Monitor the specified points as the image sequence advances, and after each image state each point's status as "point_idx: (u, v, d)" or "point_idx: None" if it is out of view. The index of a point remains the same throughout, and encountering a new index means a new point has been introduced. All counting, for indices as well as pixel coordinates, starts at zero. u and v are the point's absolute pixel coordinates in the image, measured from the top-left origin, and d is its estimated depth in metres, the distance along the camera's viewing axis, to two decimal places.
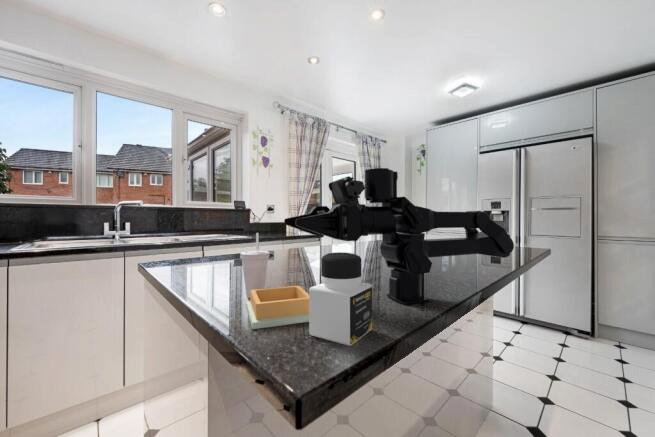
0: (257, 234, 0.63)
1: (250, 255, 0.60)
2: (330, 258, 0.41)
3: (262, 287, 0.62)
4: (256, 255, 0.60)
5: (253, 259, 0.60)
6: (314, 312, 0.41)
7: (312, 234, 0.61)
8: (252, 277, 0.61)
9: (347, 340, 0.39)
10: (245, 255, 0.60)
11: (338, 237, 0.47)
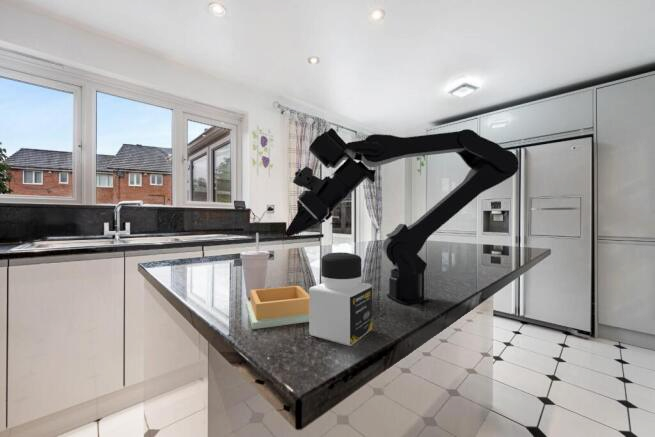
0: (257, 234, 0.63)
1: (250, 255, 0.60)
2: (330, 258, 0.41)
3: (262, 287, 0.62)
4: (256, 255, 0.60)
5: (253, 259, 0.60)
6: (314, 312, 0.41)
7: None
8: (252, 277, 0.61)
9: (347, 340, 0.39)
10: (245, 255, 0.60)
11: (315, 222, 0.54)
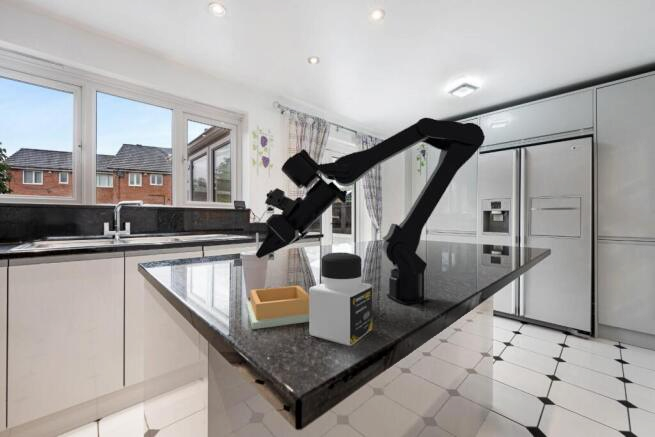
0: (257, 234, 0.63)
1: (250, 255, 0.60)
2: (330, 258, 0.41)
3: (262, 287, 0.62)
4: None
5: (253, 259, 0.60)
6: (314, 312, 0.41)
7: (299, 239, 0.69)
8: (252, 277, 0.61)
9: (347, 340, 0.39)
10: (245, 255, 0.60)
11: (284, 244, 0.55)
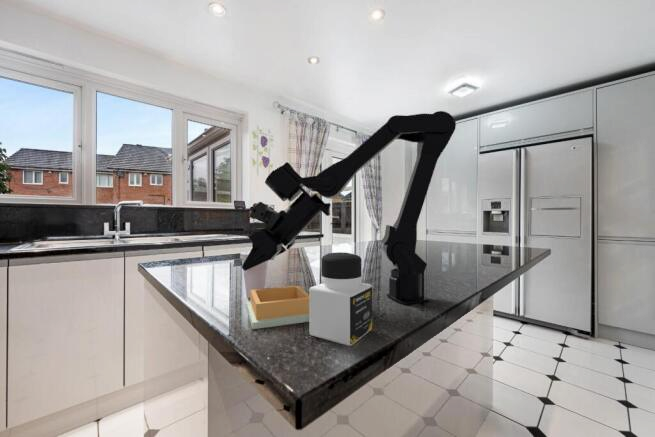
0: None
1: None
2: (330, 258, 0.41)
3: (262, 287, 0.62)
4: None
5: None
6: (314, 312, 0.41)
7: (284, 251, 0.68)
8: (252, 277, 0.61)
9: (347, 340, 0.39)
10: (245, 255, 0.60)
11: (268, 258, 0.56)
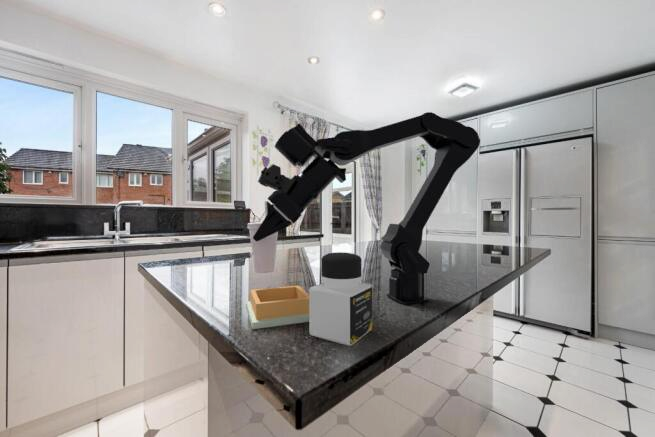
0: (266, 202, 0.57)
1: None
2: (330, 258, 0.41)
3: (273, 260, 0.56)
4: None
5: None
6: (314, 312, 0.41)
7: None
8: (264, 249, 0.55)
9: (347, 340, 0.39)
10: (256, 225, 0.54)
11: (288, 224, 0.51)
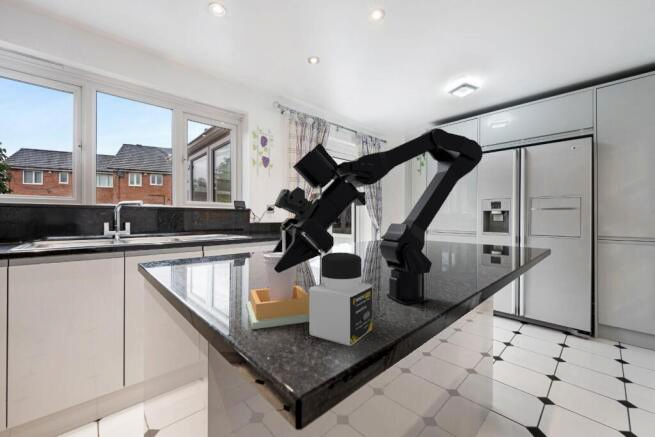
0: (284, 232, 0.52)
1: None
2: (330, 258, 0.41)
3: (292, 295, 0.52)
4: None
5: None
6: (314, 312, 0.41)
7: None
8: (284, 284, 0.50)
9: (347, 340, 0.39)
10: (276, 258, 0.49)
11: (317, 254, 0.46)
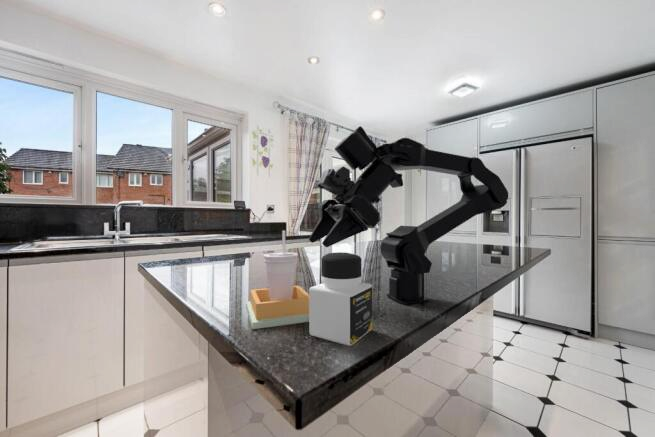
0: (284, 232, 0.52)
1: (283, 258, 0.49)
2: (330, 258, 0.41)
3: (292, 295, 0.52)
4: (290, 257, 0.50)
5: (287, 262, 0.49)
6: (314, 312, 0.41)
7: None
8: (284, 284, 0.50)
9: (347, 340, 0.39)
10: (276, 258, 0.49)
11: (364, 229, 0.49)
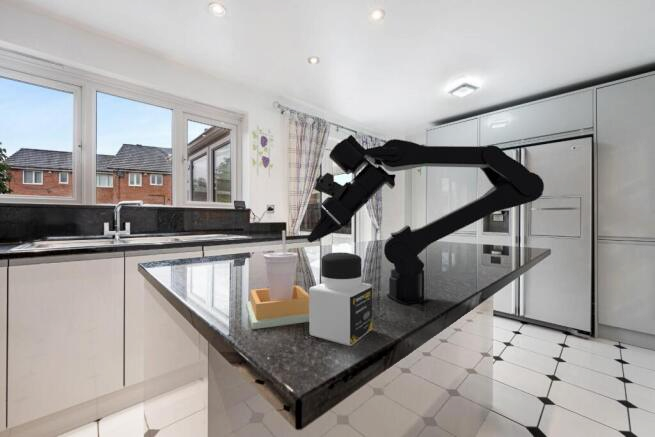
0: (284, 232, 0.52)
1: (283, 258, 0.49)
2: (330, 258, 0.41)
3: (292, 295, 0.52)
4: (290, 257, 0.50)
5: (287, 262, 0.49)
6: (314, 312, 0.41)
7: None
8: (284, 284, 0.50)
9: (347, 340, 0.39)
10: (276, 258, 0.49)
11: (338, 228, 0.55)
